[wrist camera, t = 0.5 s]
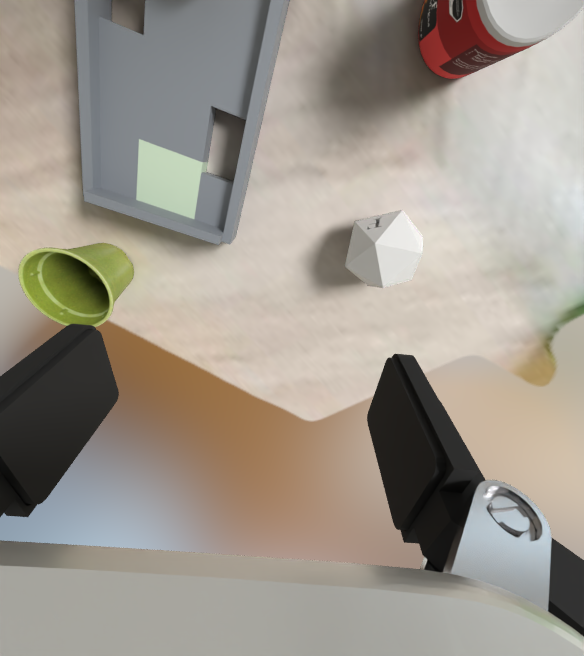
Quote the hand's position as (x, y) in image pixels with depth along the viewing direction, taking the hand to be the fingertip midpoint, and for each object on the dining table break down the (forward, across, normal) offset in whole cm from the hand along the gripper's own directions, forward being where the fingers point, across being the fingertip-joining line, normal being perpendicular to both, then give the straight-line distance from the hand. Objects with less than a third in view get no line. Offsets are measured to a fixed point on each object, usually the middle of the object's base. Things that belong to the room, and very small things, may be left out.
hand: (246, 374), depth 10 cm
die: (+29, -12, +2) cm, 32 cm away
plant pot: (+29, +22, +9) cm, 38 cm away
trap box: (+29, +11, -11) cm, 33 cm away
